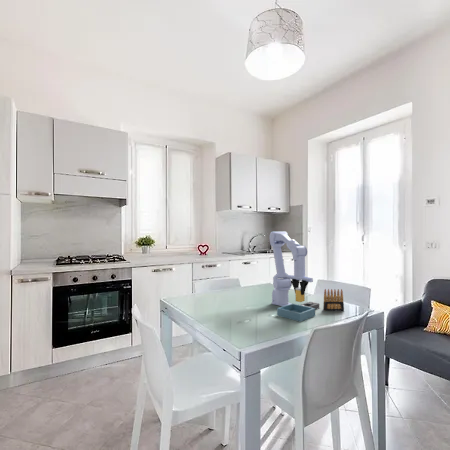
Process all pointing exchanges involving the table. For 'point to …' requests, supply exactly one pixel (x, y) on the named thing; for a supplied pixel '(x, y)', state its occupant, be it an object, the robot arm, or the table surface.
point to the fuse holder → (311, 305)
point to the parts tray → (296, 312)
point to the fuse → (299, 295)
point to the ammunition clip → (333, 301)
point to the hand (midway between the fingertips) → (299, 294)
